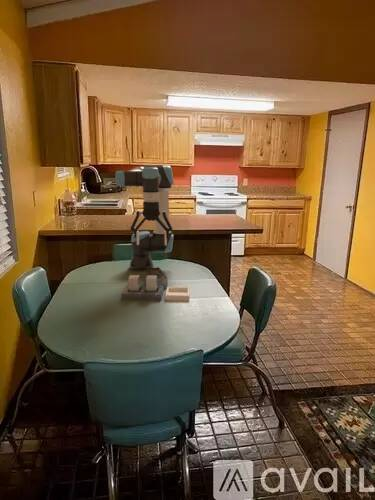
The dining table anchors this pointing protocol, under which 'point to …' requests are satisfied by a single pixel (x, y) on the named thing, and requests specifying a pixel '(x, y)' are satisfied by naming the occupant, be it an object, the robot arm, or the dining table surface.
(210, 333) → the dining table surface
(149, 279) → the tan rectangular block
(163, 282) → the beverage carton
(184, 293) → the tray
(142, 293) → the rack
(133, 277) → the beige rectangular block
